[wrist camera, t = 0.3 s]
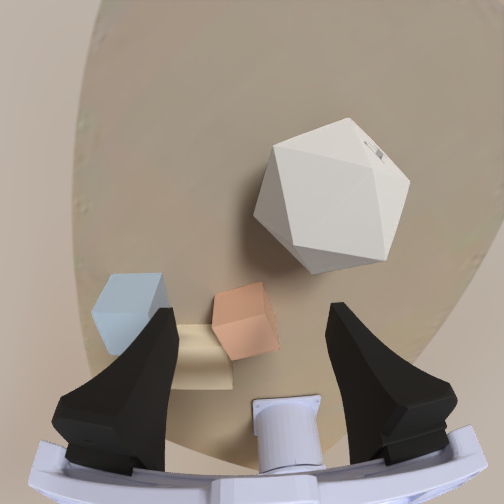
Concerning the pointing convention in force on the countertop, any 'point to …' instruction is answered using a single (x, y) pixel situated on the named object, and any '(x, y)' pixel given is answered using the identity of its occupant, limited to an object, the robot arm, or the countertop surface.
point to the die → (332, 198)
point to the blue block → (128, 307)
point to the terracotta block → (245, 321)
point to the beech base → (201, 360)
